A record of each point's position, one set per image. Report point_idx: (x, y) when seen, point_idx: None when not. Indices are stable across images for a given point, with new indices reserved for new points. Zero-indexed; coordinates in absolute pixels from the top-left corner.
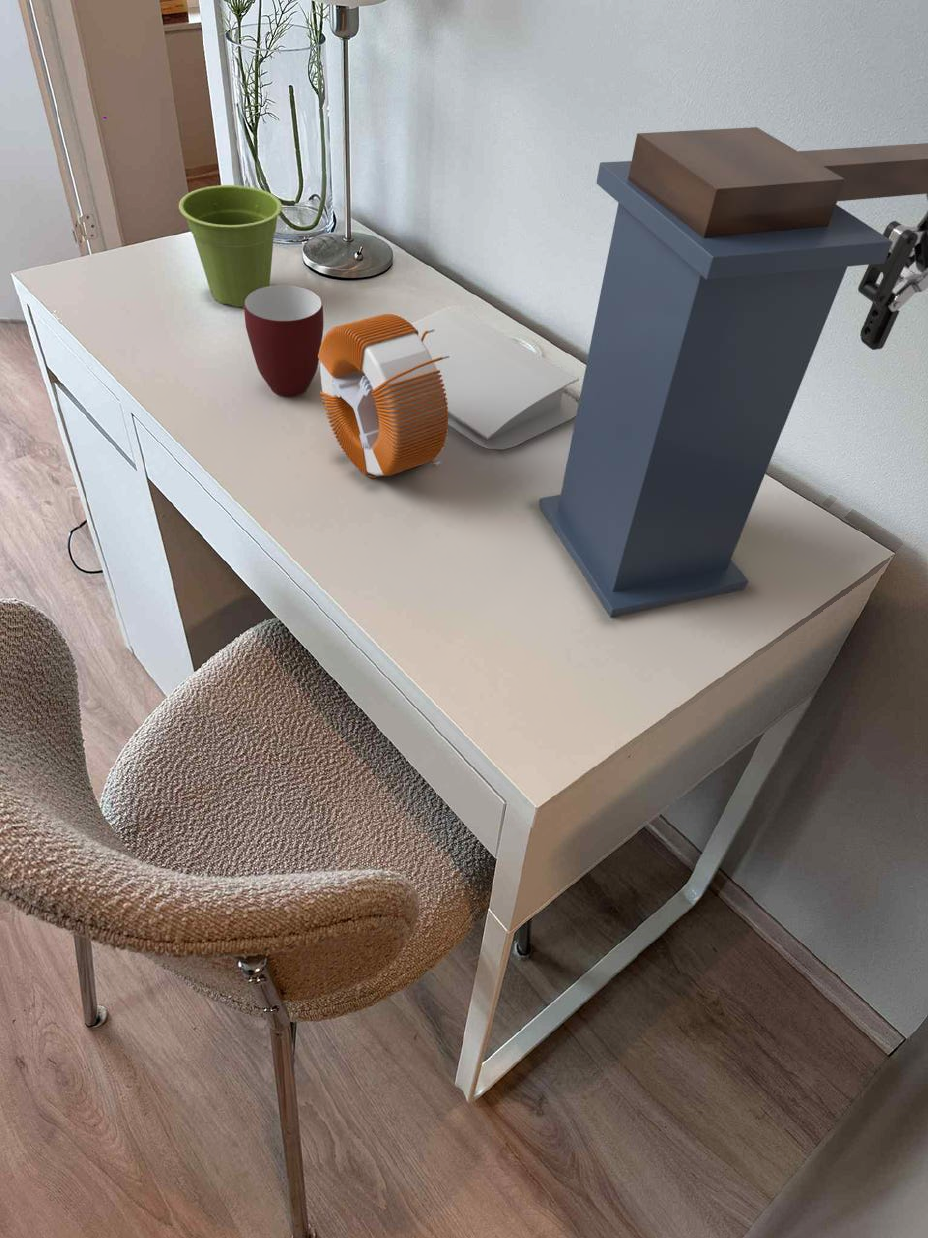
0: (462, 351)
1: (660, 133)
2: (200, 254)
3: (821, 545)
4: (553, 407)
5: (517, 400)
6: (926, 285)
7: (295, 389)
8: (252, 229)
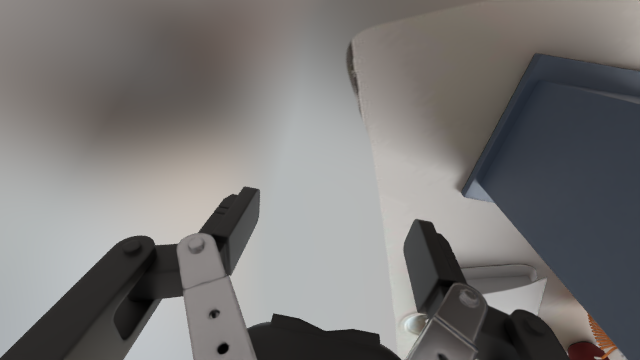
0: None
1: None
2: None
3: (407, 71)
4: None
5: (507, 297)
6: (442, 333)
7: (596, 348)
8: None
